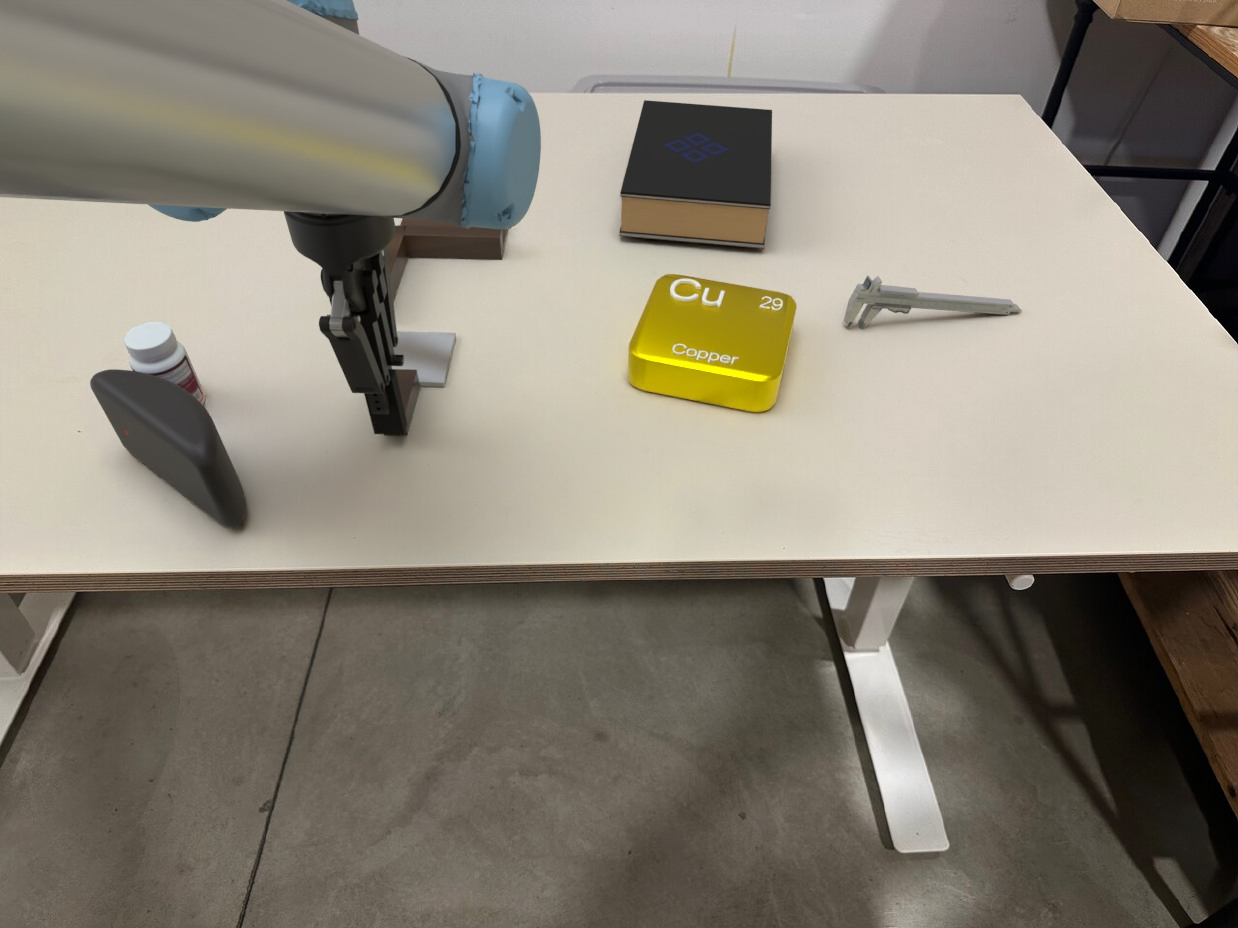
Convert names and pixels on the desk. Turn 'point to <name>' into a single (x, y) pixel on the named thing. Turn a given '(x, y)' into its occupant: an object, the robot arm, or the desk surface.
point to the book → (699, 175)
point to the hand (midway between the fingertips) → (390, 428)
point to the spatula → (421, 364)
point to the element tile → (712, 342)
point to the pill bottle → (162, 356)
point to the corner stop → (440, 244)
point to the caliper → (915, 302)
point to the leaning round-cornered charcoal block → (172, 439)
